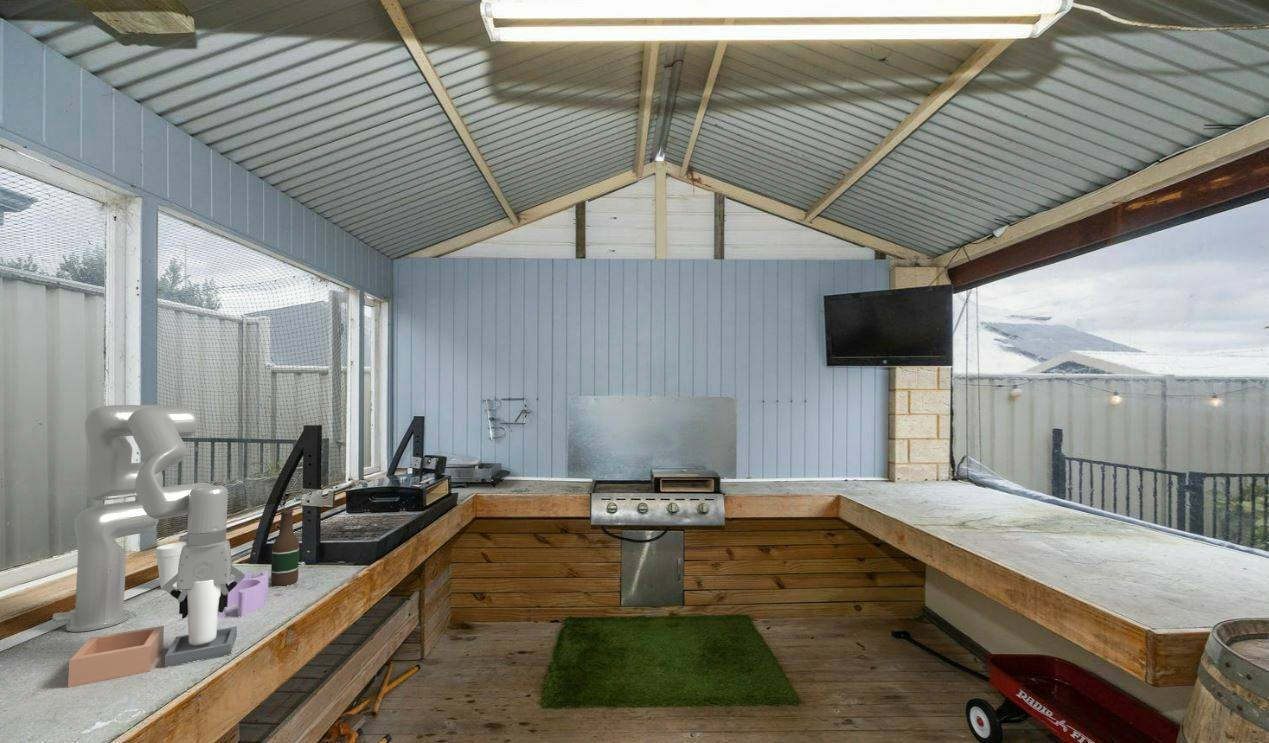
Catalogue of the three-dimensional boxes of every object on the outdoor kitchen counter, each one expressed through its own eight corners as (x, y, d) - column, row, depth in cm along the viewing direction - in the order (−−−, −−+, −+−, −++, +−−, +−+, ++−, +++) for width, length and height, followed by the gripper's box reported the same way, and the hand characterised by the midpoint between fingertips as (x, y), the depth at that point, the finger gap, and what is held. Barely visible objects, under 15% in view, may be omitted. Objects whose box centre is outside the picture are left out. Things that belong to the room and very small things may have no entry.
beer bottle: (295, 578, 185) (297, 506, 187) (301, 583, 180) (303, 509, 181) (268, 583, 180) (270, 509, 181) (273, 589, 174) (275, 513, 176)
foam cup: (196, 584, 179) (198, 544, 180) (161, 593, 171) (162, 550, 172) (185, 579, 184) (186, 540, 185) (149, 587, 176) (151, 546, 177)
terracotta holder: (68, 687, 114) (69, 660, 115) (89, 662, 126) (90, 637, 126) (149, 671, 121) (150, 646, 121) (162, 648, 132) (163, 625, 133)
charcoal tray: (164, 667, 123) (165, 656, 123) (175, 647, 133) (176, 636, 133) (230, 654, 129) (231, 644, 129) (236, 636, 139) (236, 626, 139)
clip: (232, 596, 168) (233, 574, 169) (279, 592, 172) (279, 570, 172) (201, 621, 149) (202, 595, 149) (253, 616, 152) (254, 591, 153)
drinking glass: (189, 650, 126) (192, 584, 127) (180, 642, 131) (183, 578, 131) (224, 640, 132) (227, 576, 133) (214, 632, 136) (218, 571, 137)
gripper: (156, 546, 125) (152, 626, 124) (248, 536, 134) (246, 611, 133) (164, 539, 131) (160, 615, 130) (251, 530, 140) (248, 601, 139)
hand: (203, 612), depth 132 cm, fingers closed on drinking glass, 6 cm apart
